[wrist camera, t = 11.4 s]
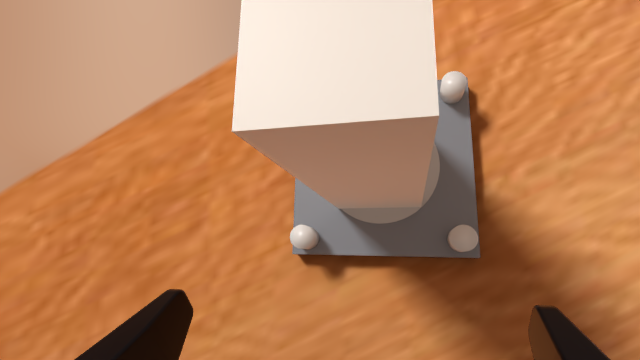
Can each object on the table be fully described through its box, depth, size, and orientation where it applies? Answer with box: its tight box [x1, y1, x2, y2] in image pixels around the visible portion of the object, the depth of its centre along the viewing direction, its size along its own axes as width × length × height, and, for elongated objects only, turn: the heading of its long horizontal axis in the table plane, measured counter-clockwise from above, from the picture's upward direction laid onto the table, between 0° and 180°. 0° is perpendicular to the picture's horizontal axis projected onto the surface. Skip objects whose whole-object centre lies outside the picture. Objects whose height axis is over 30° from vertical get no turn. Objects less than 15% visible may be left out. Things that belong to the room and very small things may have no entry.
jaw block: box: [232, 0, 439, 209], centre depth 16 cm, size 5×5×14 cm
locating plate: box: [290, 71, 480, 258], centre depth 22 cm, size 11×11×2 cm
